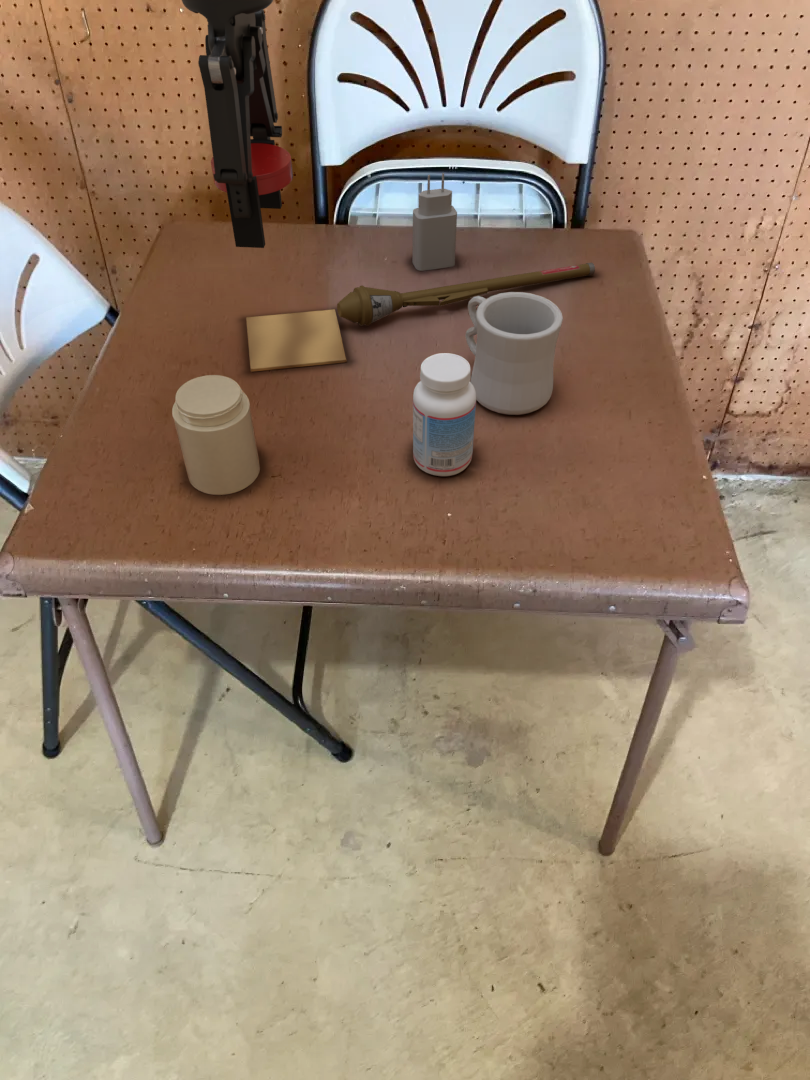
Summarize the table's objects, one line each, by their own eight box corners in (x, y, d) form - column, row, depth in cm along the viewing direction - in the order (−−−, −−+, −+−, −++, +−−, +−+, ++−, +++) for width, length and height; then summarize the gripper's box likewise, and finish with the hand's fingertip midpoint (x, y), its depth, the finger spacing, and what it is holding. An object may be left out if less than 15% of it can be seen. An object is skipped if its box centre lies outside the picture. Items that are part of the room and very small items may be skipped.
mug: (568, 397, 93) (582, 318, 86) (507, 429, 89) (516, 348, 82) (494, 347, 100) (501, 269, 92) (434, 374, 96) (437, 295, 89)
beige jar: (187, 499, 82) (167, 422, 75) (187, 451, 87) (169, 375, 80) (262, 490, 83) (249, 413, 76) (258, 443, 87) (245, 367, 81)
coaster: (250, 371, 96) (250, 369, 96) (246, 320, 104) (246, 317, 103) (346, 362, 98) (346, 359, 97) (335, 311, 105) (335, 309, 105)
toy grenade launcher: (578, 274, 114) (595, 294, 111) (332, 314, 104) (345, 337, 101) (587, 242, 110) (605, 262, 108) (333, 281, 100) (346, 304, 97)
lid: (267, 155, 83) (264, 136, 82) (308, 180, 79) (306, 161, 78) (199, 175, 80) (196, 156, 79) (239, 203, 76) (236, 183, 75)
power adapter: (411, 260, 114) (411, 171, 105) (449, 255, 115) (453, 166, 106) (417, 271, 112) (418, 181, 103) (456, 266, 113) (460, 176, 104)
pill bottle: (482, 452, 87) (490, 360, 78) (452, 486, 83) (458, 394, 75) (432, 432, 89) (435, 341, 81) (401, 464, 85) (400, 372, 77)
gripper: (238, -16, 59) (276, 280, 76) (292, -81, 73) (314, 181, 90) (134, -18, 60) (195, 276, 76) (207, -83, 73) (245, 179, 90)
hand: (259, 225), depth 83 cm, fingers closed on lid, 7 cm apart
